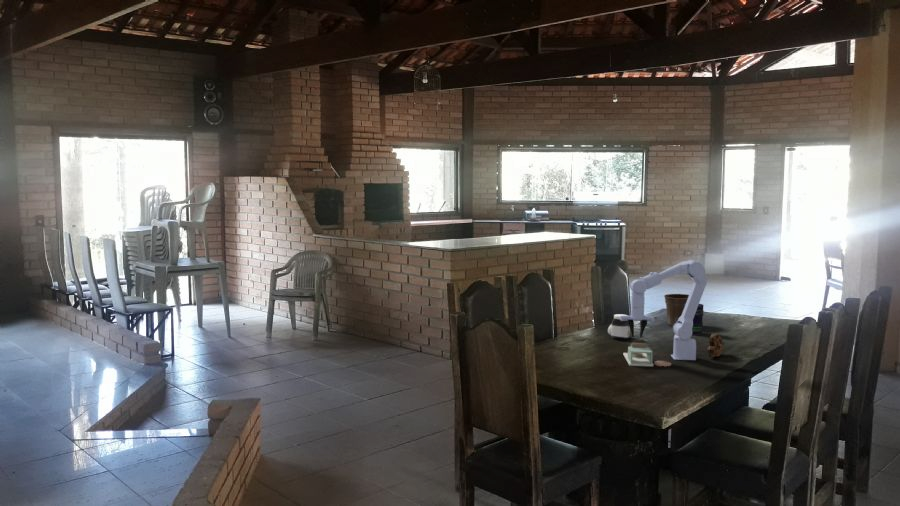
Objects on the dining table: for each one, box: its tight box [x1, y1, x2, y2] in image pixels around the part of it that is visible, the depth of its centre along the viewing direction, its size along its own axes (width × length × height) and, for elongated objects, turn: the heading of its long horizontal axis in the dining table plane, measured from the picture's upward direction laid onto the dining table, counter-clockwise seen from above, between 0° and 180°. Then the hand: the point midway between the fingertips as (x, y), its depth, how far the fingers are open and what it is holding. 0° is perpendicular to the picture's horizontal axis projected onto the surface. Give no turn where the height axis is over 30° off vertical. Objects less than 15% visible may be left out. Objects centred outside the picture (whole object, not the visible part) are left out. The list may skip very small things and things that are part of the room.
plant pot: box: [663, 293, 689, 327], centre depth 398 cm, size 16×16×16 cm
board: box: [623, 352, 654, 367], centre depth 322 cm, size 10×20×1 cm, turn 174°
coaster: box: [653, 360, 672, 367], centre depth 315 cm, size 7×7×1 cm
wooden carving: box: [707, 333, 725, 358], centre depth 329 cm, size 16×5×10 cm, turn 148°
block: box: [630, 344, 643, 358], centre depth 327 cm, size 4×4×5 cm
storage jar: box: [684, 303, 705, 336], centre depth 378 cm, size 10×10×15 cm
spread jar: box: [607, 313, 631, 341], centre depth 367 cm, size 12×11×12 cm
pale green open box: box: [627, 342, 653, 364], centre depth 316 cm, size 9×9×7 cm
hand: (636, 336), depth 326 cm, fingers open, 3 cm apart
